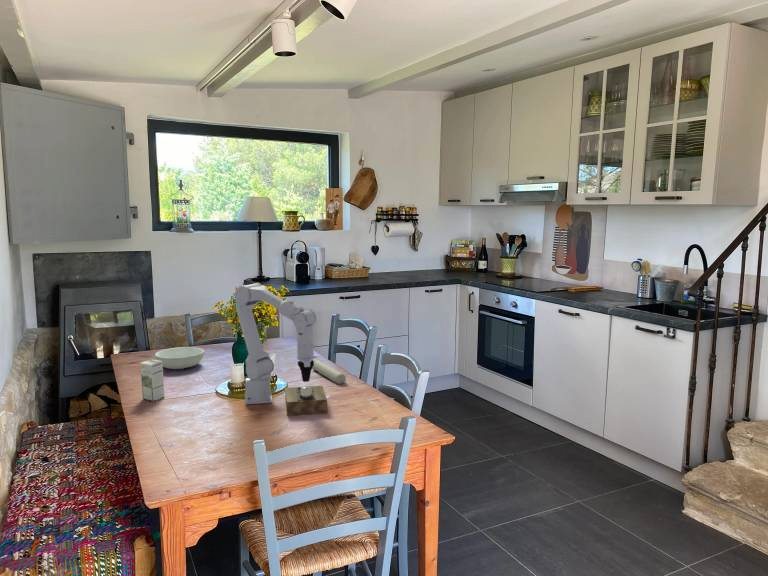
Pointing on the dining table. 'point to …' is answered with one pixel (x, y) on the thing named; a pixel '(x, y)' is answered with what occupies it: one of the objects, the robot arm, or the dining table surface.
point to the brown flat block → (305, 401)
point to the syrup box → (152, 379)
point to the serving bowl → (180, 357)
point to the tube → (328, 371)
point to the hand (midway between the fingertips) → (306, 381)
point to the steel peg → (306, 392)
